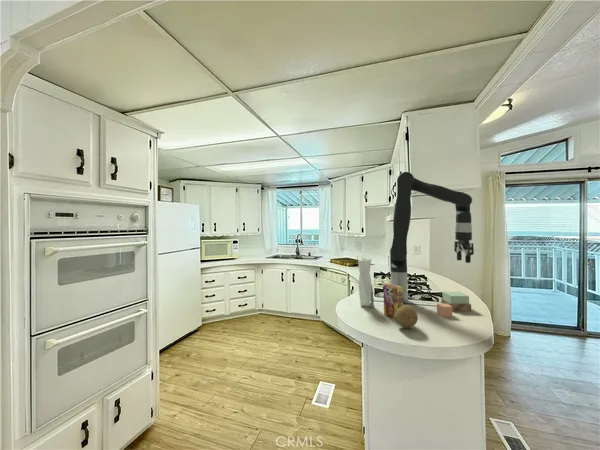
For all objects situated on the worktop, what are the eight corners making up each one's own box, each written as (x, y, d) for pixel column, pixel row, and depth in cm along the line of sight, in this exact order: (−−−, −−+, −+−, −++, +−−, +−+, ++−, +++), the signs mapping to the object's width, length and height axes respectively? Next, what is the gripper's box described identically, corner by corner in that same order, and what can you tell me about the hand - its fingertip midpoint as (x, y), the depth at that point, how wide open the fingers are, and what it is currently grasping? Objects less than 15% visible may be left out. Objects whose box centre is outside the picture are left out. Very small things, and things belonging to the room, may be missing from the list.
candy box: (404, 318, 122) (403, 286, 122) (397, 320, 120) (396, 287, 120) (389, 312, 130) (389, 283, 130) (383, 314, 128) (382, 284, 128)
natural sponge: (421, 333, 105) (421, 309, 105) (399, 333, 106) (398, 309, 106) (414, 324, 114) (413, 302, 114) (393, 324, 115) (393, 302, 115)
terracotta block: (441, 317, 123) (441, 306, 123) (437, 313, 128) (436, 303, 128) (452, 317, 122) (452, 306, 122) (447, 313, 127) (447, 303, 127)
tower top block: (450, 303, 131) (450, 296, 131) (442, 298, 140) (442, 291, 140) (469, 303, 130) (469, 296, 130) (459, 298, 139) (459, 291, 139)
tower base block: (450, 311, 130) (450, 304, 130) (441, 305, 140) (441, 298, 140) (471, 312, 129) (471, 304, 129) (461, 306, 139) (461, 298, 139)
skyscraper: (358, 307, 140) (357, 256, 140) (357, 302, 148) (356, 254, 148) (374, 307, 138) (373, 256, 138) (372, 303, 146) (371, 254, 146)
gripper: (449, 231, 144) (449, 259, 144) (463, 231, 130) (463, 263, 130) (463, 231, 143) (463, 259, 143) (479, 231, 129) (479, 263, 129)
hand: (463, 261), depth 137 cm, fingers open, 8 cm apart
